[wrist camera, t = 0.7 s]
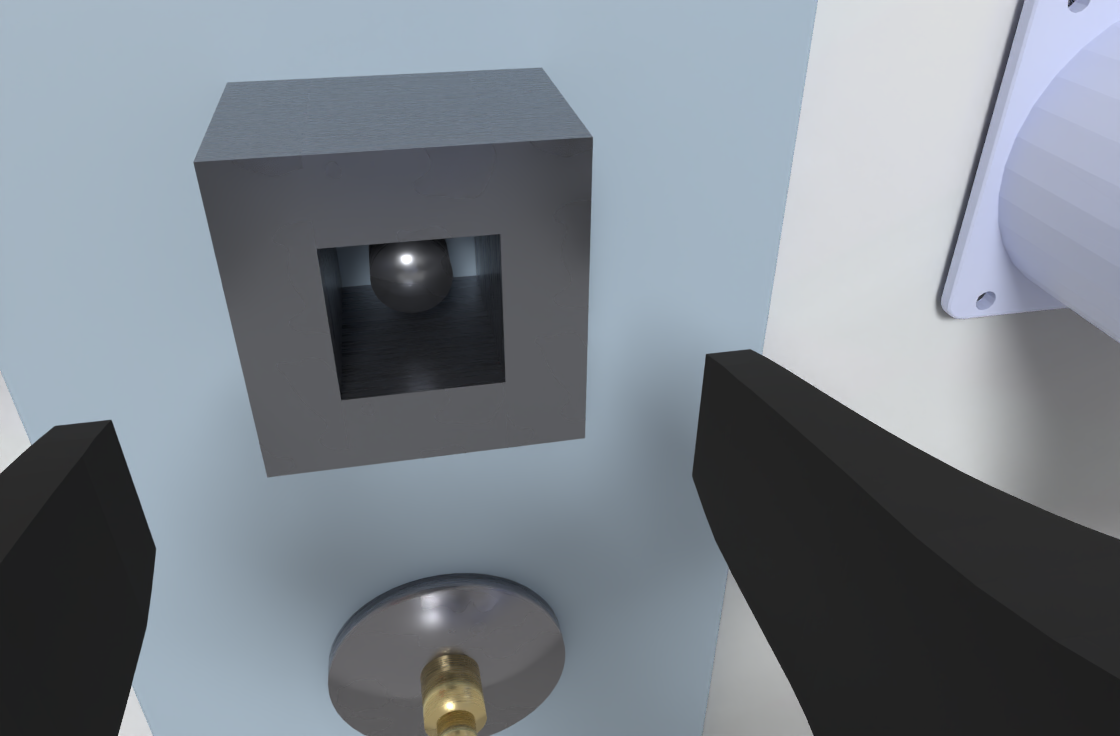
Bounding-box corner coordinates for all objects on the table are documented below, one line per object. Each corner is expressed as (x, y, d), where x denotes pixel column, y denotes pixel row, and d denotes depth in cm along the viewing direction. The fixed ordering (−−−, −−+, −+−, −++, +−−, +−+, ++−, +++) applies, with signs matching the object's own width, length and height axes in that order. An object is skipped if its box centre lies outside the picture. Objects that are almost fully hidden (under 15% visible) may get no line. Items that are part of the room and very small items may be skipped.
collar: (541, 67, 16) (593, 137, 13) (543, 327, 19) (585, 438, 16) (226, 82, 15) (193, 161, 12) (281, 353, 18) (266, 477, 15)
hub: (561, 556, 23) (588, 651, 20) (560, 708, 26) (583, 805, 24) (311, 593, 22) (306, 698, 19) (344, 746, 25) (345, 852, 23)
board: (805, -83, 16) (829, -76, 15) (687, 744, 31) (696, 770, 30) (-147, -65, 14) (-178, -56, 13) (211, 834, 28) (207, 866, 27)
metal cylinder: (437, 182, 17) (450, 236, 15) (442, 248, 17) (454, 309, 15) (362, 187, 16) (365, 243, 14) (371, 255, 17) (374, 316, 15)
